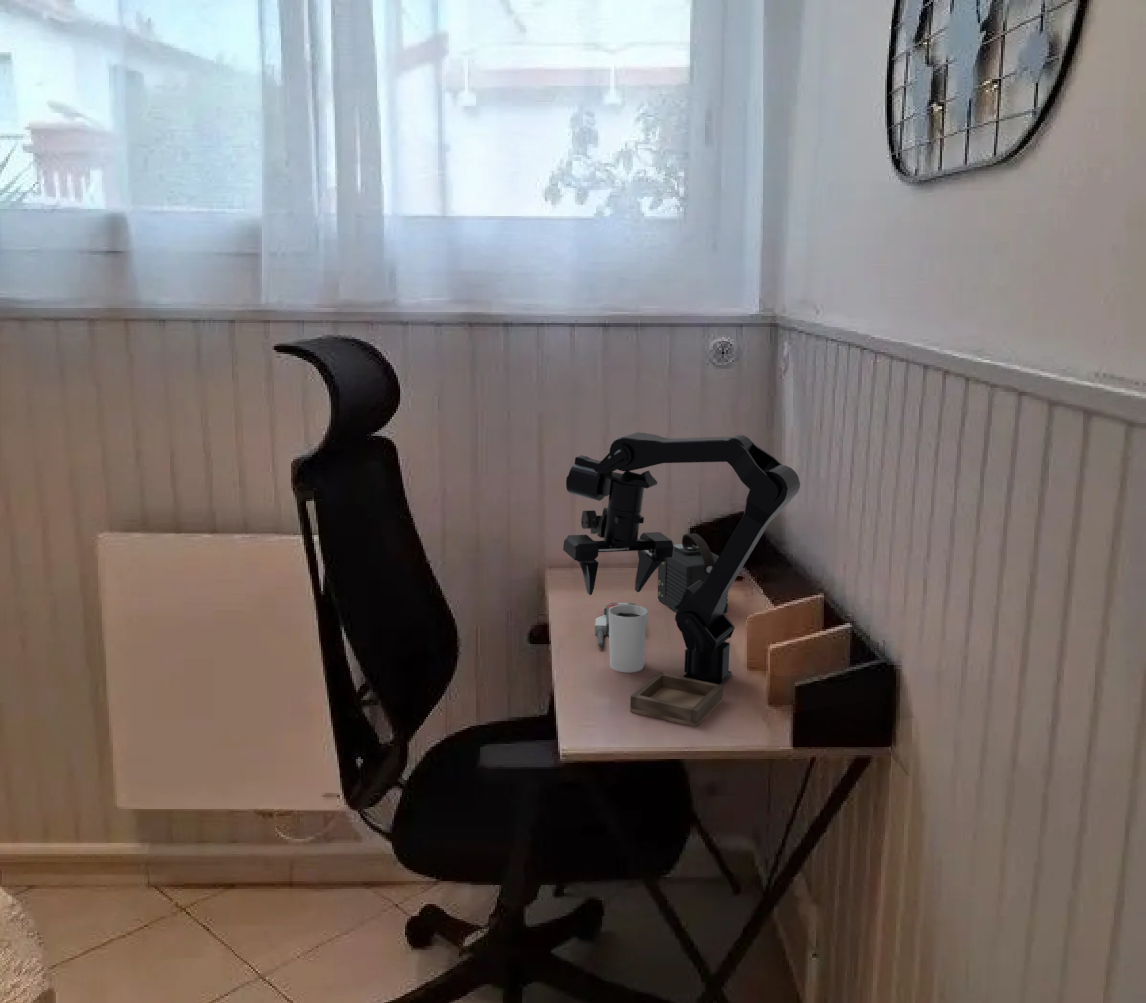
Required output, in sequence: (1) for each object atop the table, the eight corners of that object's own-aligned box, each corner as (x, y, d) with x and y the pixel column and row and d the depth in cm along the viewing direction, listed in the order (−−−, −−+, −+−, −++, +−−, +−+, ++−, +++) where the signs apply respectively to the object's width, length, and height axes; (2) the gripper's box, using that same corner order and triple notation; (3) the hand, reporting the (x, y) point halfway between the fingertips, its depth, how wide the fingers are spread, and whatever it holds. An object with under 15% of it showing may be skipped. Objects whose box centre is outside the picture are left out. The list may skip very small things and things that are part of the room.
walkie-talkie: (594, 615, 207) (594, 652, 187) (595, 594, 206) (594, 629, 186) (639, 616, 207) (643, 653, 187) (639, 594, 206) (644, 630, 186)
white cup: (609, 674, 177) (610, 617, 175) (605, 659, 183) (606, 604, 181) (648, 673, 177) (650, 617, 175) (643, 658, 184) (644, 604, 182)
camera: (700, 593, 219) (703, 524, 216) (734, 614, 207) (737, 541, 203) (653, 599, 216) (655, 528, 212) (685, 621, 203) (687, 546, 200)
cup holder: (722, 700, 167) (723, 685, 166) (696, 727, 157) (697, 711, 157) (659, 686, 172) (659, 672, 171) (630, 711, 162) (630, 696, 162)
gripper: (651, 492, 188) (640, 573, 192) (555, 493, 180) (546, 578, 185) (681, 511, 178) (669, 596, 183) (581, 513, 170) (571, 602, 175)
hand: (613, 592), depth 181 cm, fingers open, 9 cm apart
